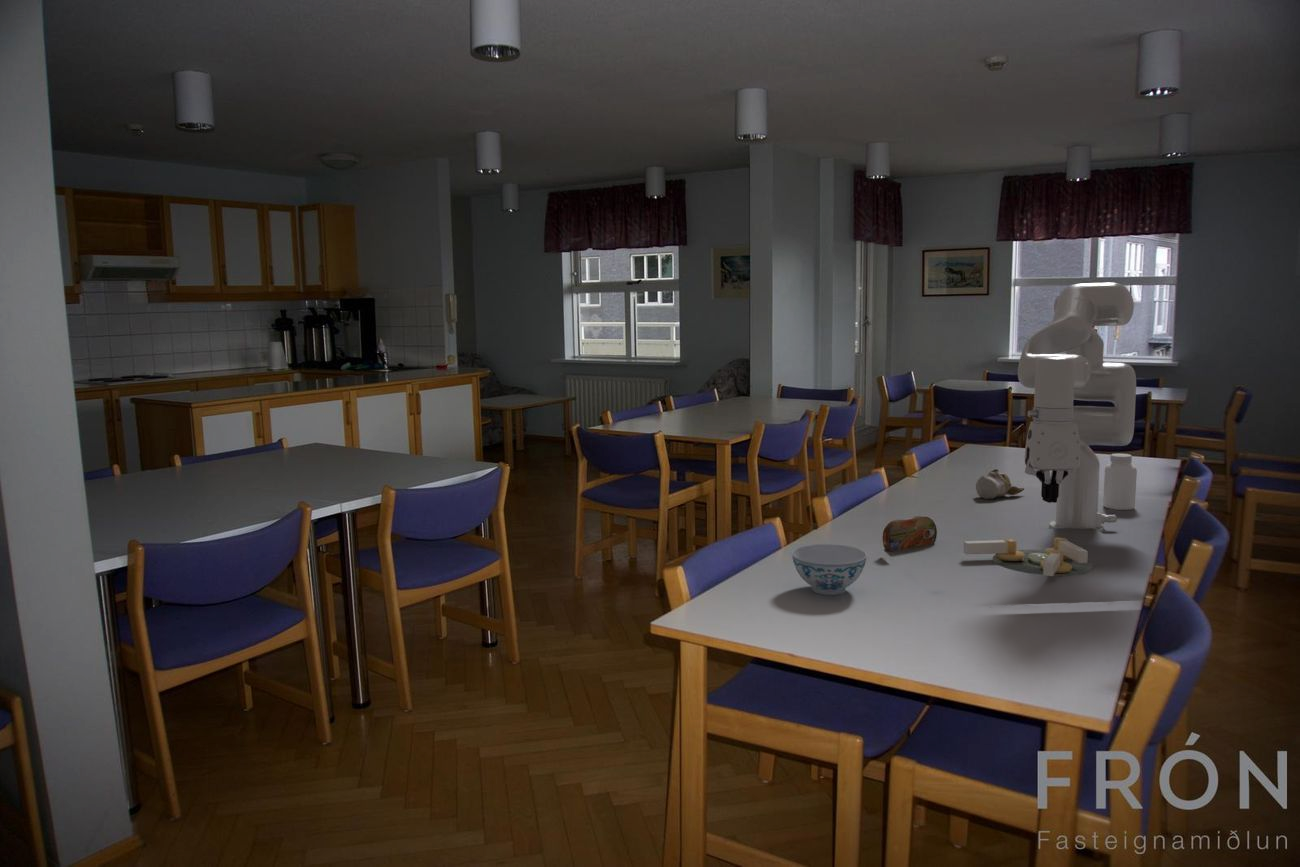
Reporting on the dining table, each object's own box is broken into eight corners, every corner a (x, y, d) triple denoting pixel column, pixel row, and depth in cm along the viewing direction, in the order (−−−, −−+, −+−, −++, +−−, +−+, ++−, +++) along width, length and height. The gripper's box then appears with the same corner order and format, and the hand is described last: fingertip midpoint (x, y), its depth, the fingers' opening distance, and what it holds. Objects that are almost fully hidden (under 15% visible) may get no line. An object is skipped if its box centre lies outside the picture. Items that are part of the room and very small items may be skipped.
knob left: (1017, 553, 201) (1017, 536, 201) (1029, 560, 195) (1029, 543, 195) (959, 555, 201) (960, 538, 200) (970, 562, 195) (970, 545, 194)
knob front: (1043, 563, 193) (1043, 546, 192) (1073, 567, 189) (1074, 549, 189) (1031, 579, 182) (1032, 561, 181) (1063, 583, 179) (1064, 565, 178)
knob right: (1040, 552, 201) (1040, 535, 201) (1066, 551, 201) (1067, 535, 201) (1068, 568, 188) (1069, 551, 188) (1096, 567, 188) (1097, 550, 188)
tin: (889, 559, 206) (889, 523, 204) (879, 555, 208) (880, 520, 207) (937, 549, 212) (938, 515, 211) (927, 546, 215) (928, 512, 214)
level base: (1064, 554, 205) (1064, 541, 205) (1111, 580, 186) (1111, 565, 185) (977, 557, 205) (978, 543, 204) (1016, 583, 185) (1016, 568, 185)
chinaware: (851, 606, 174) (852, 567, 173) (780, 594, 182) (780, 557, 181) (876, 585, 186) (876, 549, 185) (808, 575, 194) (808, 540, 193)
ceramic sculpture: (966, 468, 268) (996, 465, 277) (964, 496, 269) (993, 493, 278) (998, 473, 260) (1027, 470, 268) (996, 502, 260) (1025, 498, 269)
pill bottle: (1104, 509, 249) (1106, 456, 247) (1101, 503, 256) (1104, 452, 254) (1136, 511, 246) (1139, 457, 244) (1133, 505, 253) (1135, 453, 251)
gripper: (1025, 418, 184) (1022, 505, 186) (1097, 416, 184) (1093, 504, 187) (1010, 414, 191) (1007, 498, 194) (1079, 413, 192) (1075, 497, 194)
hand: (1049, 501), depth 190 cm, fingers closed
